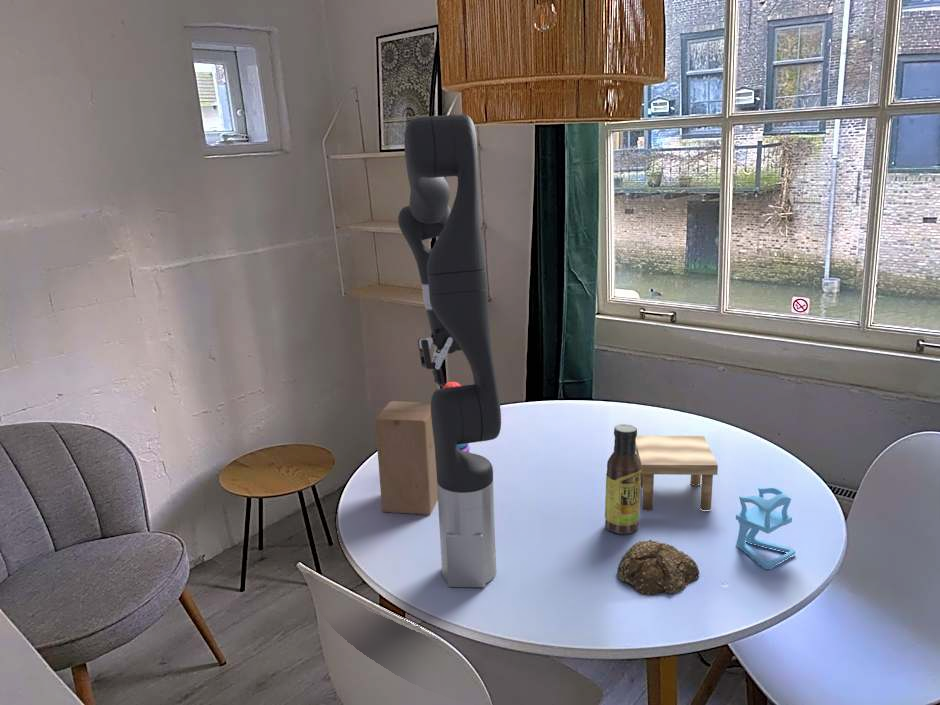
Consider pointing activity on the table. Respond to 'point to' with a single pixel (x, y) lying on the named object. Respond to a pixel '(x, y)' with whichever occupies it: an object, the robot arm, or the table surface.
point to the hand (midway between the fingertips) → (460, 379)
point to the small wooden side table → (676, 463)
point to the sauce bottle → (623, 482)
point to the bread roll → (657, 568)
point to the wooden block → (406, 458)
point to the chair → (763, 523)
